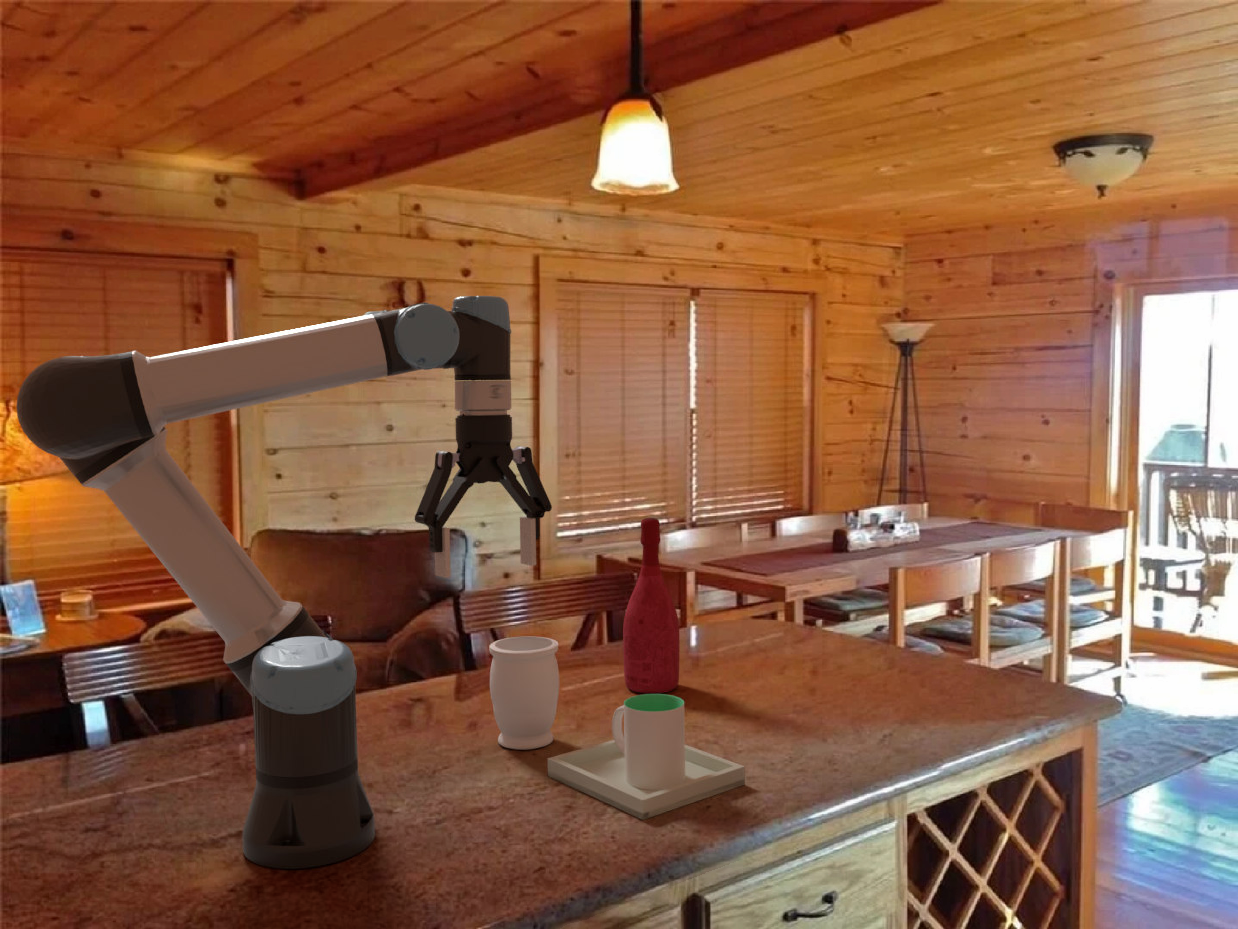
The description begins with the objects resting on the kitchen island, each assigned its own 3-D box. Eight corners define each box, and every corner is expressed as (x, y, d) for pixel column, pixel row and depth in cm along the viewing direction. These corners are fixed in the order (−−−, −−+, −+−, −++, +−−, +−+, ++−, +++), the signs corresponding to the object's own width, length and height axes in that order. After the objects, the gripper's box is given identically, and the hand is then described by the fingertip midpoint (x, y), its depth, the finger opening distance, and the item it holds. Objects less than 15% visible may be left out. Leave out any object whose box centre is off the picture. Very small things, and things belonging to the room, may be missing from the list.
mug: (592, 772, 152) (590, 697, 151) (633, 757, 158) (632, 685, 157) (656, 794, 144) (655, 715, 143) (697, 778, 149) (696, 701, 148)
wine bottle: (689, 685, 197) (688, 516, 194) (661, 699, 189) (660, 523, 186) (642, 677, 202) (640, 513, 200) (613, 690, 194) (610, 519, 191)
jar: (549, 755, 161) (548, 653, 160) (481, 751, 163) (479, 651, 162) (567, 732, 172) (566, 636, 170) (503, 728, 174) (501, 634, 172)
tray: (642, 820, 138) (642, 800, 137) (547, 776, 153) (547, 758, 153) (744, 784, 149) (744, 766, 149) (647, 747, 164) (646, 730, 164)
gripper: (414, 416, 138) (418, 585, 140) (575, 410, 154) (577, 562, 156) (385, 415, 144) (390, 577, 146) (543, 409, 160) (545, 556, 161)
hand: (486, 570), depth 151 cm, fingers open, 13 cm apart
